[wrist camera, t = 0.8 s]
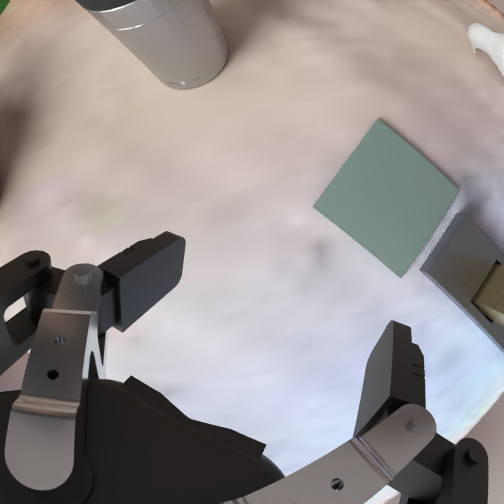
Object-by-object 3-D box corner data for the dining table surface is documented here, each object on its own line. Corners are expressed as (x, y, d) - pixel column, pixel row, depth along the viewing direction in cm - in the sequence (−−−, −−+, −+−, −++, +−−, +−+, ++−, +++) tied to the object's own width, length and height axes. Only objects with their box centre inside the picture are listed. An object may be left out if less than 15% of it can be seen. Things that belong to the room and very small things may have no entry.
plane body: (419, 269, 32) (428, 273, 29) (456, 214, 31) (466, 213, 28) (500, 350, 31) (510, 357, 28) (531, 302, 30) (542, 306, 27)
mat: (312, 206, 33) (313, 206, 32) (375, 120, 31) (377, 118, 30) (399, 276, 32) (401, 278, 31) (456, 191, 30) (459, 190, 30)
